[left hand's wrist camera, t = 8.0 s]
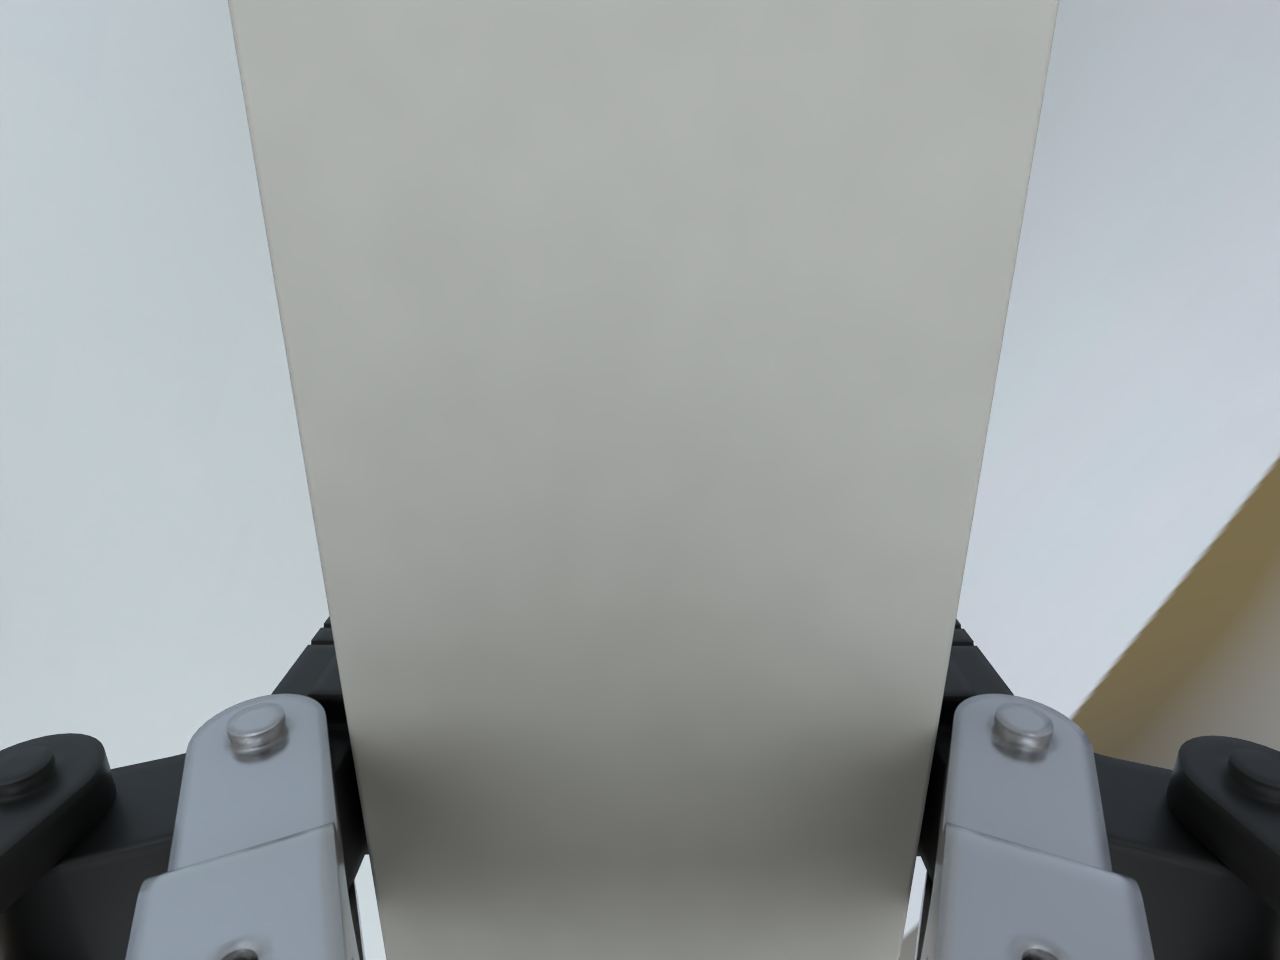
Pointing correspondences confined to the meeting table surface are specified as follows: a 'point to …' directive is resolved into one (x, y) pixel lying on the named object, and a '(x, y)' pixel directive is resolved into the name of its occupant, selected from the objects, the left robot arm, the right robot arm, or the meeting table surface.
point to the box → (643, 442)
